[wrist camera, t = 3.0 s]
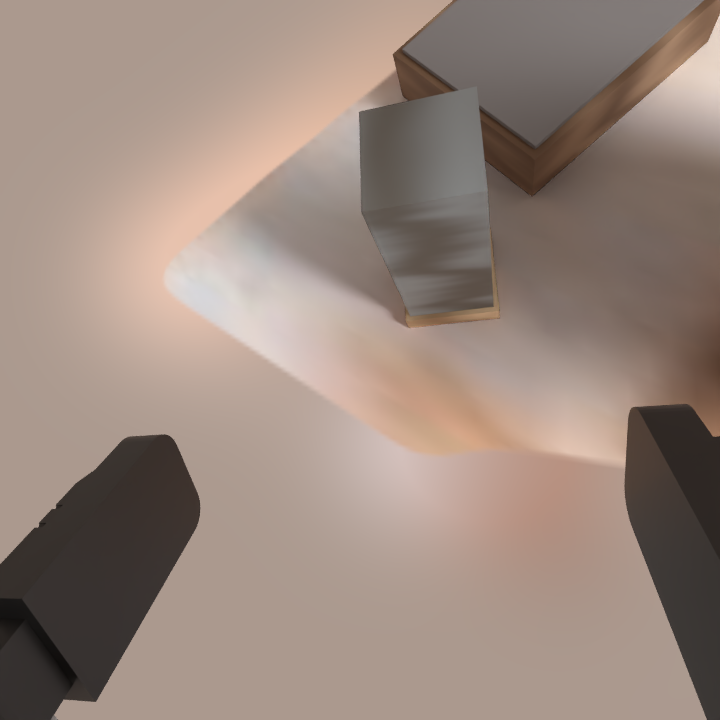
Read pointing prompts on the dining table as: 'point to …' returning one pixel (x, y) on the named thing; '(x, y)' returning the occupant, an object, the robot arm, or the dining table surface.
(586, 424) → the dining table surface
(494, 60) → the plate
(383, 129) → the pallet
